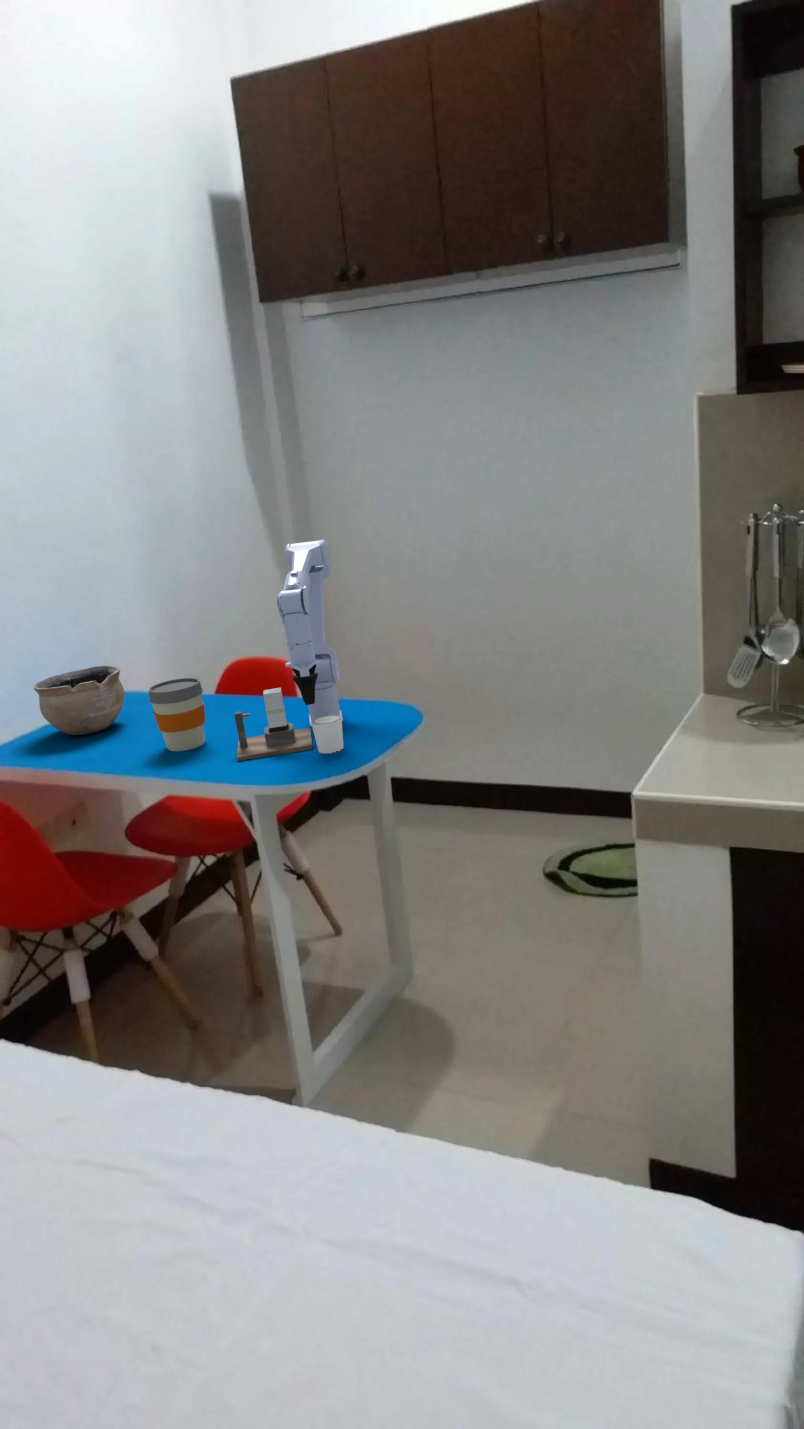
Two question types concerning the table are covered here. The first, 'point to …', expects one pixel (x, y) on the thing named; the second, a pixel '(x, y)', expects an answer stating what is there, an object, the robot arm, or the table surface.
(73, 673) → the ceramic bowl
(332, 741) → the shot glass
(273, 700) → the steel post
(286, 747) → the stand
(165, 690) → the reusable coffee cup
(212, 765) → the table surface
